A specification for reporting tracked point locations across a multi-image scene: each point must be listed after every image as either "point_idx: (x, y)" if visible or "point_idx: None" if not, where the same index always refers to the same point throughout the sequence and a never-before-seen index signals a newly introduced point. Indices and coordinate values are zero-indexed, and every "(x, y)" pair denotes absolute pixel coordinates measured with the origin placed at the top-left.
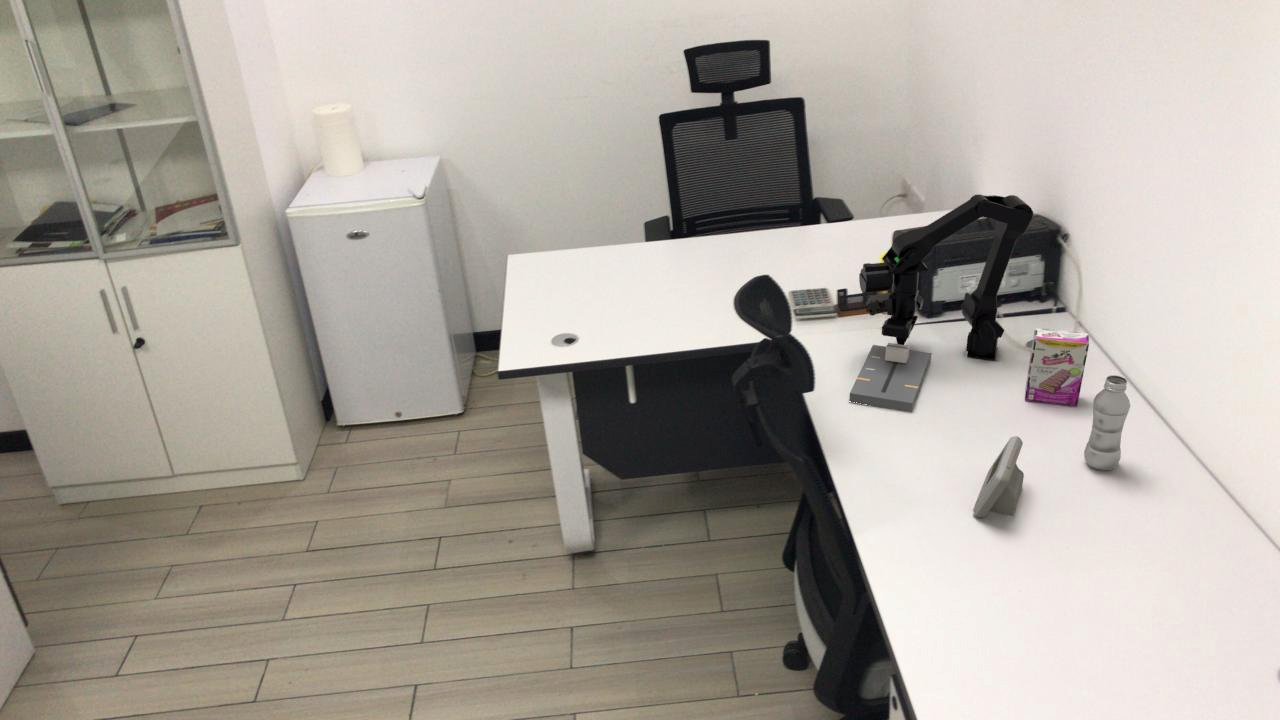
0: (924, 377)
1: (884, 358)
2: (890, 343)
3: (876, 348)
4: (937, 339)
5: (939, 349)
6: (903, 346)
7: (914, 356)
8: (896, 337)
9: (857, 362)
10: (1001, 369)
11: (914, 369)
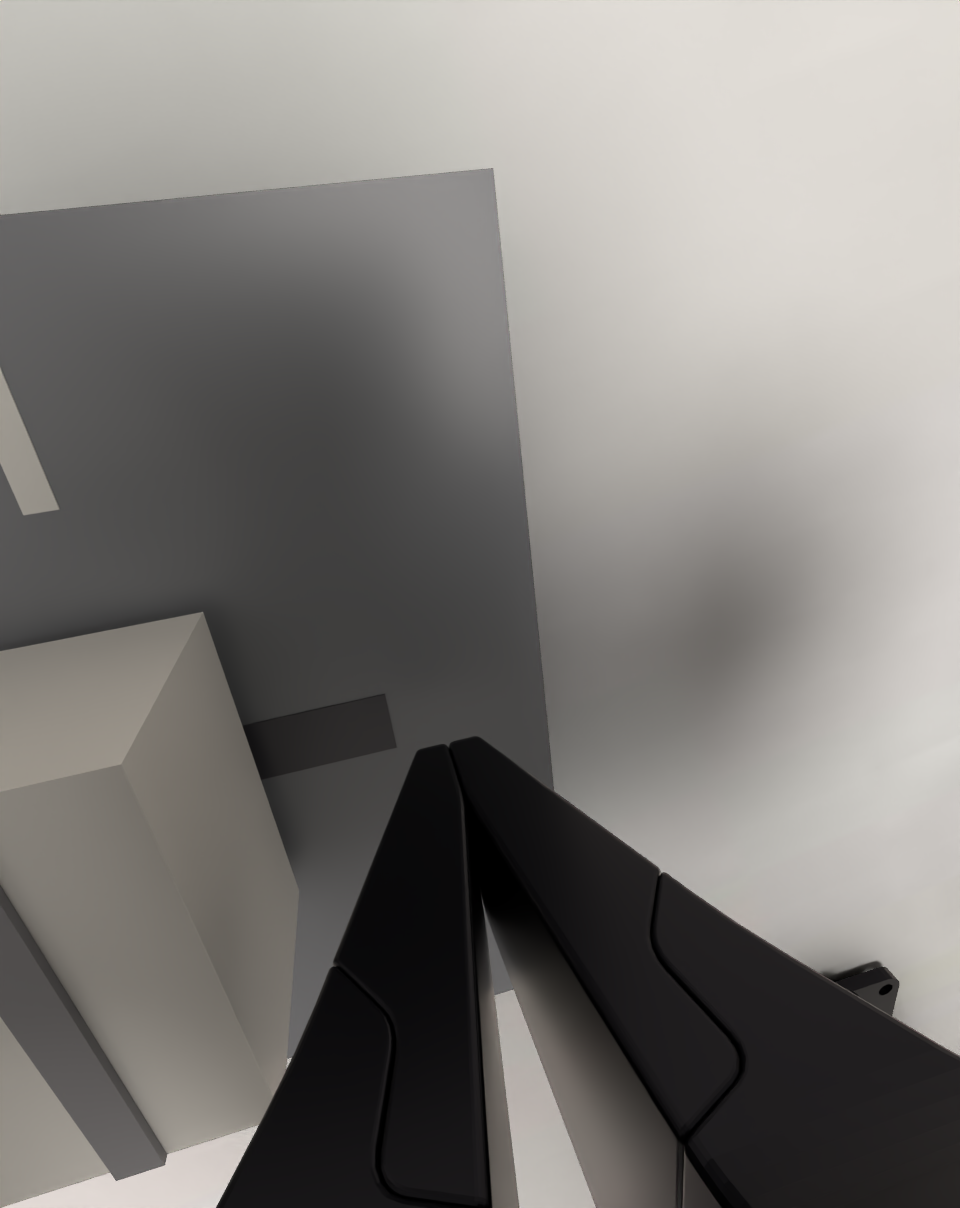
0: None
1: (78, 592)
2: (120, 818)
3: (372, 302)
4: (948, 752)
5: (781, 835)
6: (171, 1070)
7: None
8: (342, 949)
9: (3, 27)
10: None
11: None
